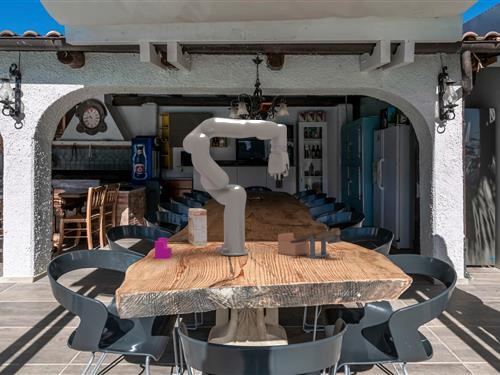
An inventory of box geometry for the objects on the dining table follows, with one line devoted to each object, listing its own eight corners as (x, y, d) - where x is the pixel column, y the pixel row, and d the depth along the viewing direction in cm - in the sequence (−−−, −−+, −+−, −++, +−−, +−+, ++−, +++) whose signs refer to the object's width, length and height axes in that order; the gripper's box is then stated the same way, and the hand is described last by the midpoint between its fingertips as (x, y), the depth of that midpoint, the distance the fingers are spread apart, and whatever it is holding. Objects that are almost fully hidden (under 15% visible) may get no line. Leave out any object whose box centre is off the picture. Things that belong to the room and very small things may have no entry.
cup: (295, 256, 209) (294, 235, 209) (278, 253, 217) (278, 234, 217) (309, 253, 216) (309, 234, 216) (292, 251, 224) (292, 232, 224)
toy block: (169, 258, 206) (169, 241, 206) (154, 259, 205) (154, 241, 205) (172, 253, 221) (172, 237, 221) (159, 254, 220) (159, 237, 220)
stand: (315, 258, 201) (315, 236, 201) (306, 257, 205) (306, 235, 205) (329, 256, 208) (329, 234, 208) (320, 255, 212) (320, 234, 212)
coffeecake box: (188, 245, 250) (187, 208, 250) (201, 244, 252) (201, 208, 252) (193, 248, 236) (193, 209, 236) (207, 248, 238) (207, 209, 238)
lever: (323, 244, 192) (320, 229, 193) (286, 251, 206) (284, 237, 207) (342, 241, 201) (339, 227, 202) (305, 248, 215) (303, 235, 216)
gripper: (262, 150, 231) (262, 188, 231) (285, 149, 220) (285, 188, 220) (273, 151, 236) (273, 188, 236) (295, 149, 225) (296, 188, 225)
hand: (279, 188), depth 228 cm, fingers closed
